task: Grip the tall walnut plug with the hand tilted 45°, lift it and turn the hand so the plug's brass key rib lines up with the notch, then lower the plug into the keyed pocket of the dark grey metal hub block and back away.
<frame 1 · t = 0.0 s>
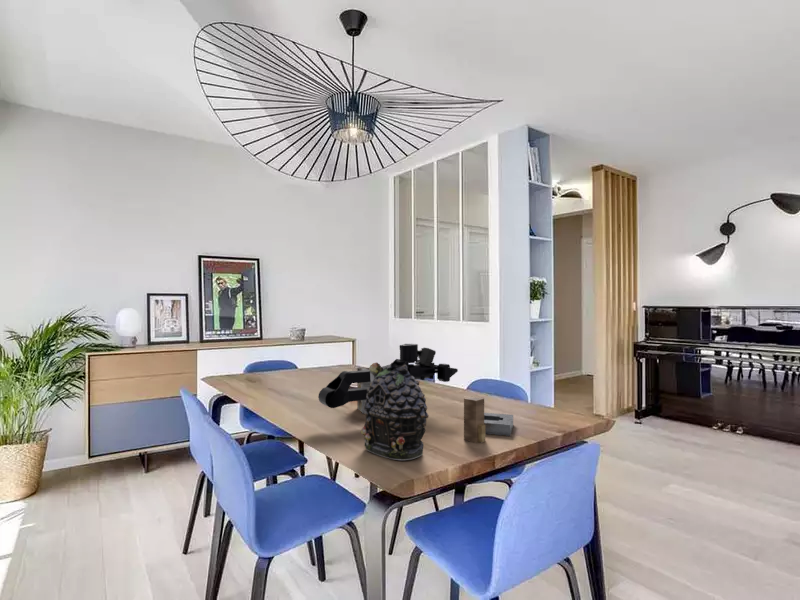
hand: (449, 368, 173), 17 cm above the table, tool horizontal, fingers open, 9 cm apart
decorative house: (394, 452, 125), on the table
keyed plug: (474, 439, 136), on the table
hub block: (490, 428, 149), on the table
coffee box: (367, 411, 174), on the table
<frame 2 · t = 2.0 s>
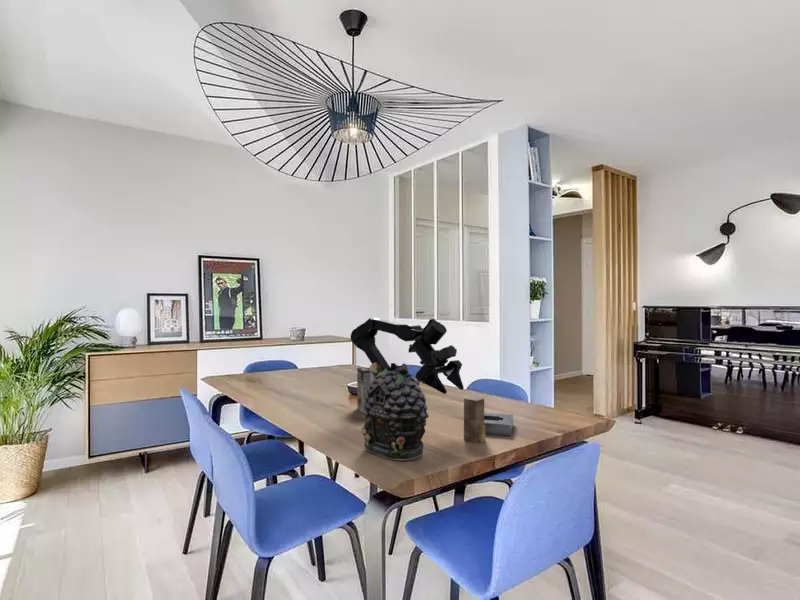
hand: (454, 391, 142), 14 cm above the table, tool tilted 45°, fingers open, 9 cm apart
nothing on the table moved.
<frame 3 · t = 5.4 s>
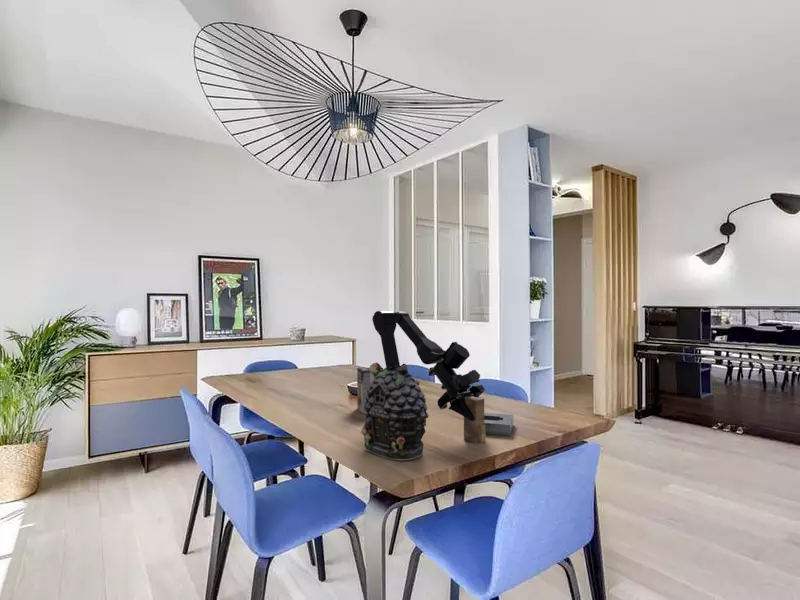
hand: (477, 418, 136), 7 cm above the table, tool tilted 45°, fingers closed on keyed plug, 4 cm apart
keyed plug: (474, 439, 136), on the table, touching gripper
everything else where it was.
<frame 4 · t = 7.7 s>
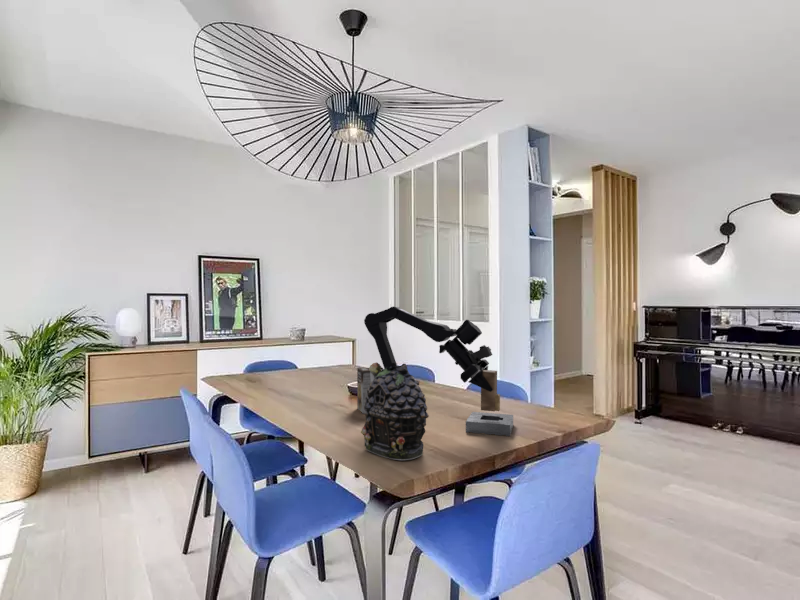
hand: (493, 389, 146), 13 cm above the table, tool tilted 45°, fingers closed on keyed plug, 4 cm apart
keyed plug: (488, 409, 147), point 7 cm above the table, touching gripper
everything else where it was.
when the fingers open (8 cm above the table, at t = 10.4 s): keyed plug drops 1 cm, resting in hub block.
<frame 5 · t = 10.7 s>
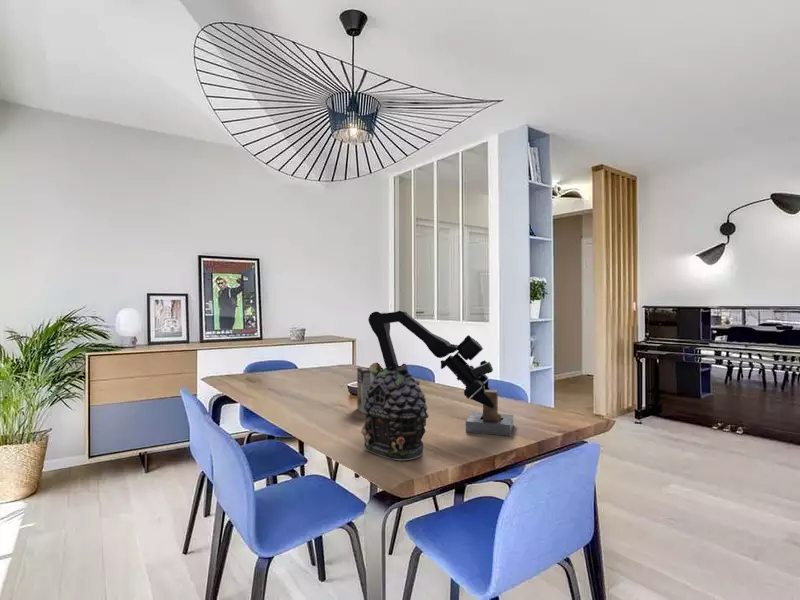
hand: (494, 404, 149), 8 cm above the table, tool tilted 45°, fingers open, 8 cm apart
keyed plug: (490, 428, 149), resting in hub block
everything else where it was.
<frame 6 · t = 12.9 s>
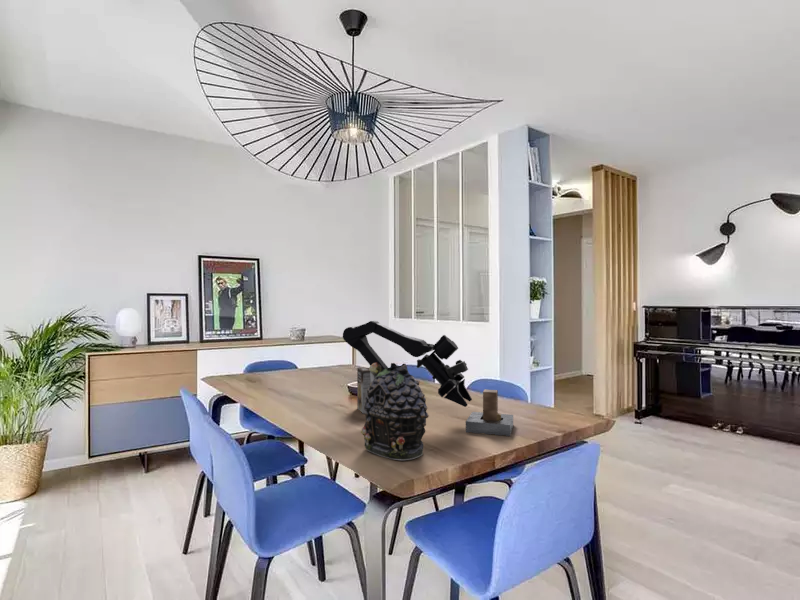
hand: (468, 403, 152), 8 cm above the table, tool tilted 45°, fingers open, 9 cm apart
nothing on the table moved.
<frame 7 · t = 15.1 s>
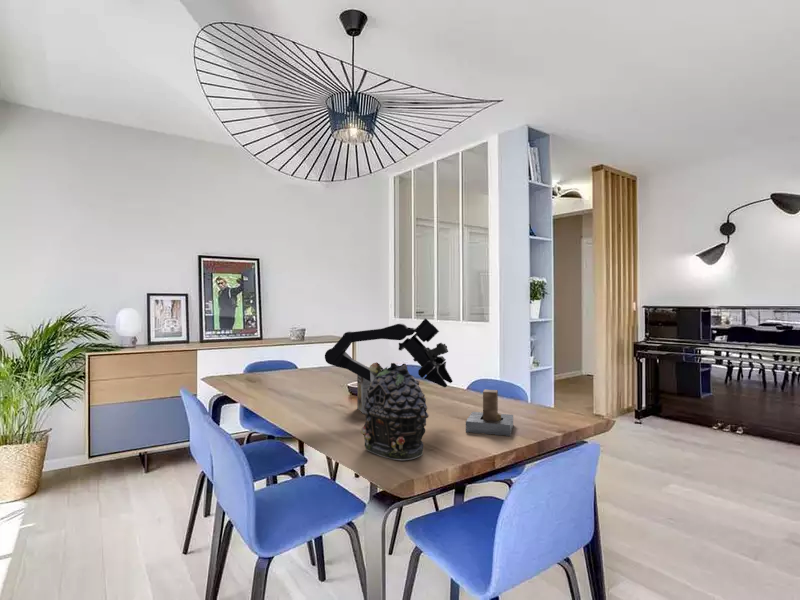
hand: (449, 384, 155), 14 cm above the table, tool tilted 45°, fingers open, 9 cm apart
nothing on the table moved.
at the end: keyed plug 0.1 cm off-centre on the hub block, point 0.0 cm above the hub block's base; keyed plug tilted 0°; the gripper is holding nothing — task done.
